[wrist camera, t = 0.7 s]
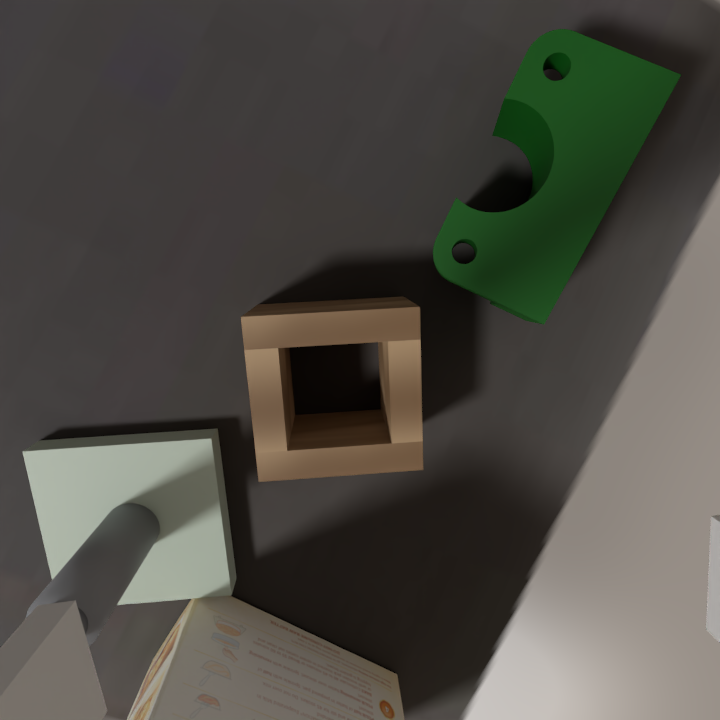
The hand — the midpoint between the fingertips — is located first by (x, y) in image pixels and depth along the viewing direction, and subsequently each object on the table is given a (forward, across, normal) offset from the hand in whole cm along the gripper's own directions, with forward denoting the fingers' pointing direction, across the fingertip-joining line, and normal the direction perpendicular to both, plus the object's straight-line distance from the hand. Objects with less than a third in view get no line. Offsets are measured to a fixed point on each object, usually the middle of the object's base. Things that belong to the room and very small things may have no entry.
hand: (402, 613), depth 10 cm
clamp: (+18, +9, +10) cm, 22 cm away
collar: (+18, -1, +1) cm, 18 cm away
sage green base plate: (+18, -14, -6) cm, 23 cm away
